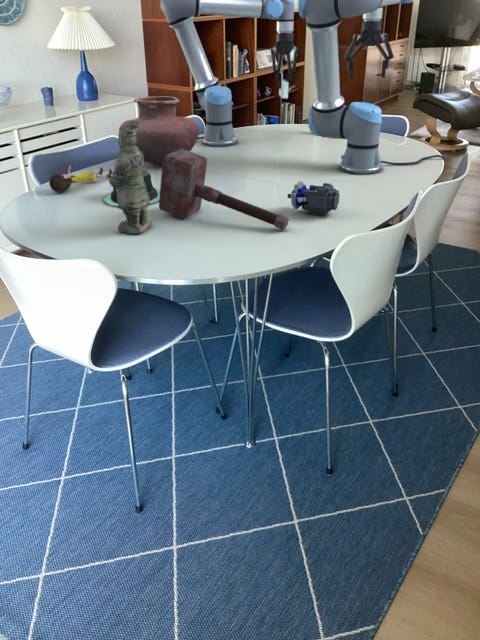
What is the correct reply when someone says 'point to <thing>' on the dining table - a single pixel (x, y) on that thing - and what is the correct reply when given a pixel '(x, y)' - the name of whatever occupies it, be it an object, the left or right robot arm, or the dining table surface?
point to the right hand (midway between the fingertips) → (366, 78)
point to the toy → (315, 198)
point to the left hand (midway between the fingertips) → (283, 88)
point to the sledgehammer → (200, 190)
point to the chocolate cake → (152, 192)
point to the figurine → (74, 179)
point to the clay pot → (162, 128)
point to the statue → (131, 182)
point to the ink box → (283, 86)
